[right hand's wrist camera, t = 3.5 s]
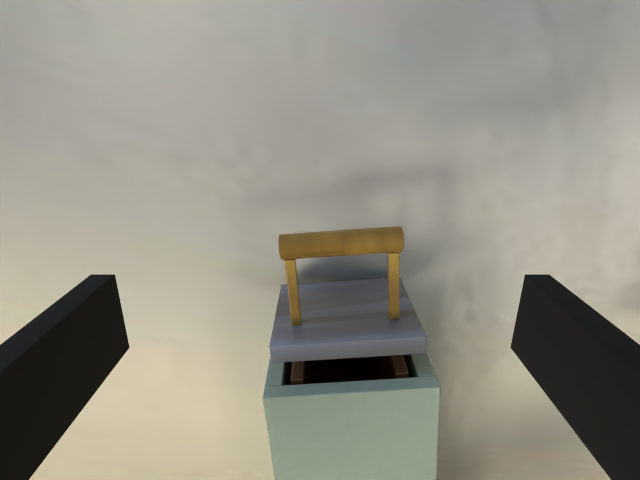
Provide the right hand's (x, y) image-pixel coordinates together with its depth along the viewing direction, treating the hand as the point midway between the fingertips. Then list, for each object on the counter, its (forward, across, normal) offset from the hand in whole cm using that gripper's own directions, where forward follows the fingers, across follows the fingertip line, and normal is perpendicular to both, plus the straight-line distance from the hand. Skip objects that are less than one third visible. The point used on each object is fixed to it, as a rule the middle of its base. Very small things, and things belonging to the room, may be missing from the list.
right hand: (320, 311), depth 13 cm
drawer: (+16, -2, +14) cm, 21 cm away
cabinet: (+17, -2, +20) cm, 26 cm away
